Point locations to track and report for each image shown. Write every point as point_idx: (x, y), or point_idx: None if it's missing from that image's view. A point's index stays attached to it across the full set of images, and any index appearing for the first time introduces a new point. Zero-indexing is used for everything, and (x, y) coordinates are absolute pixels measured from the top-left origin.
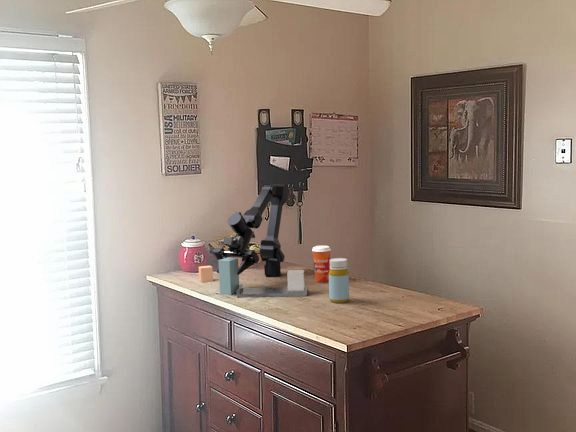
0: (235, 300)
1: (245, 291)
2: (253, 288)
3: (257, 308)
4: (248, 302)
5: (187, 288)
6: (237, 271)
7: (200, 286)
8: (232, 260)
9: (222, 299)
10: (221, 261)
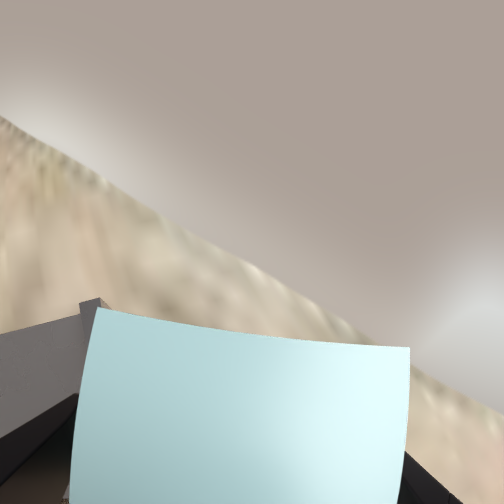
0: (102, 246)
1: (79, 392)
2: None
3: (3, 158)
4: (34, 225)
5: (500, 416)
6: (73, 408)
7: (469, 484)
8: (77, 438)
9: (185, 251)
10: (325, 348)
